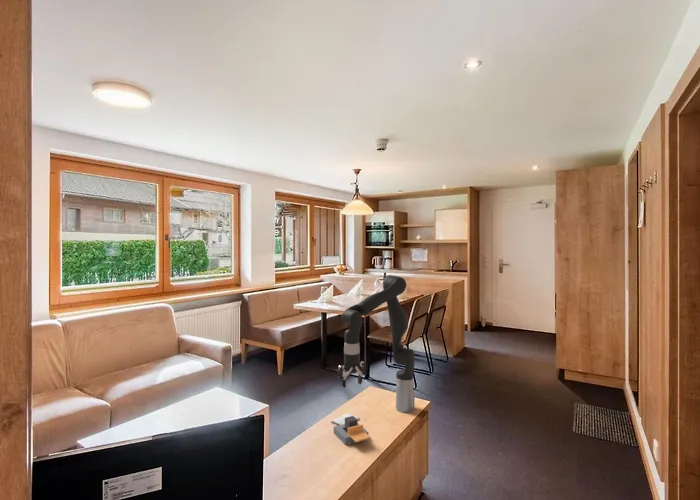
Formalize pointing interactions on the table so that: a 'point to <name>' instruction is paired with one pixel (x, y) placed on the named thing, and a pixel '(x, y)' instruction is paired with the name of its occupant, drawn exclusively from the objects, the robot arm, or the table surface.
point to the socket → (344, 434)
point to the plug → (350, 422)
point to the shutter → (358, 433)
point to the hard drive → (342, 419)
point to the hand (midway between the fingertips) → (351, 385)
